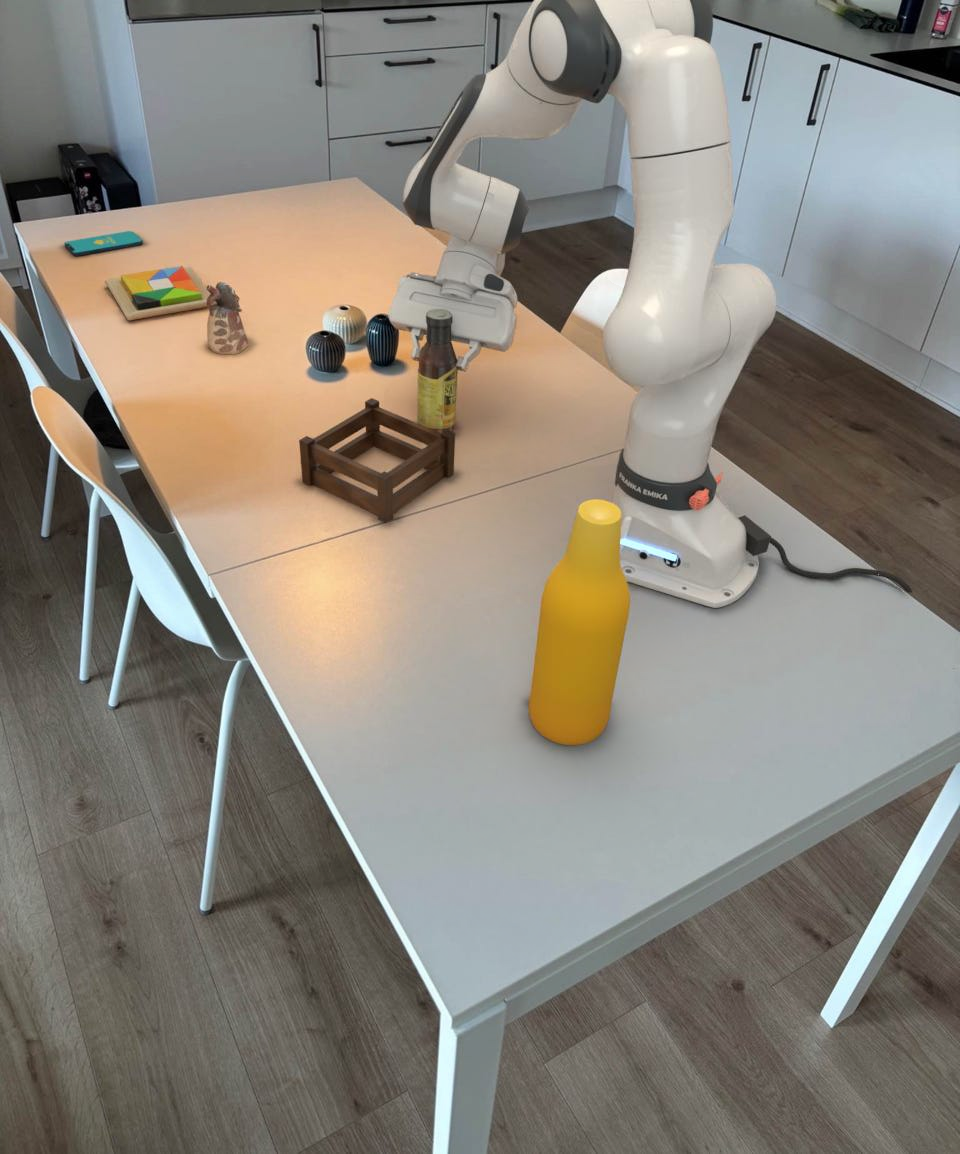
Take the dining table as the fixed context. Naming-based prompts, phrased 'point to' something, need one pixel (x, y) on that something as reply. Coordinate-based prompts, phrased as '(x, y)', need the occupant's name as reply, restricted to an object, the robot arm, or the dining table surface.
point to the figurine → (225, 321)
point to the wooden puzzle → (159, 292)
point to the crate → (386, 503)
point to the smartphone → (103, 243)
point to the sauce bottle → (437, 374)
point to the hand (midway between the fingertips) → (438, 365)
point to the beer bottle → (581, 630)
